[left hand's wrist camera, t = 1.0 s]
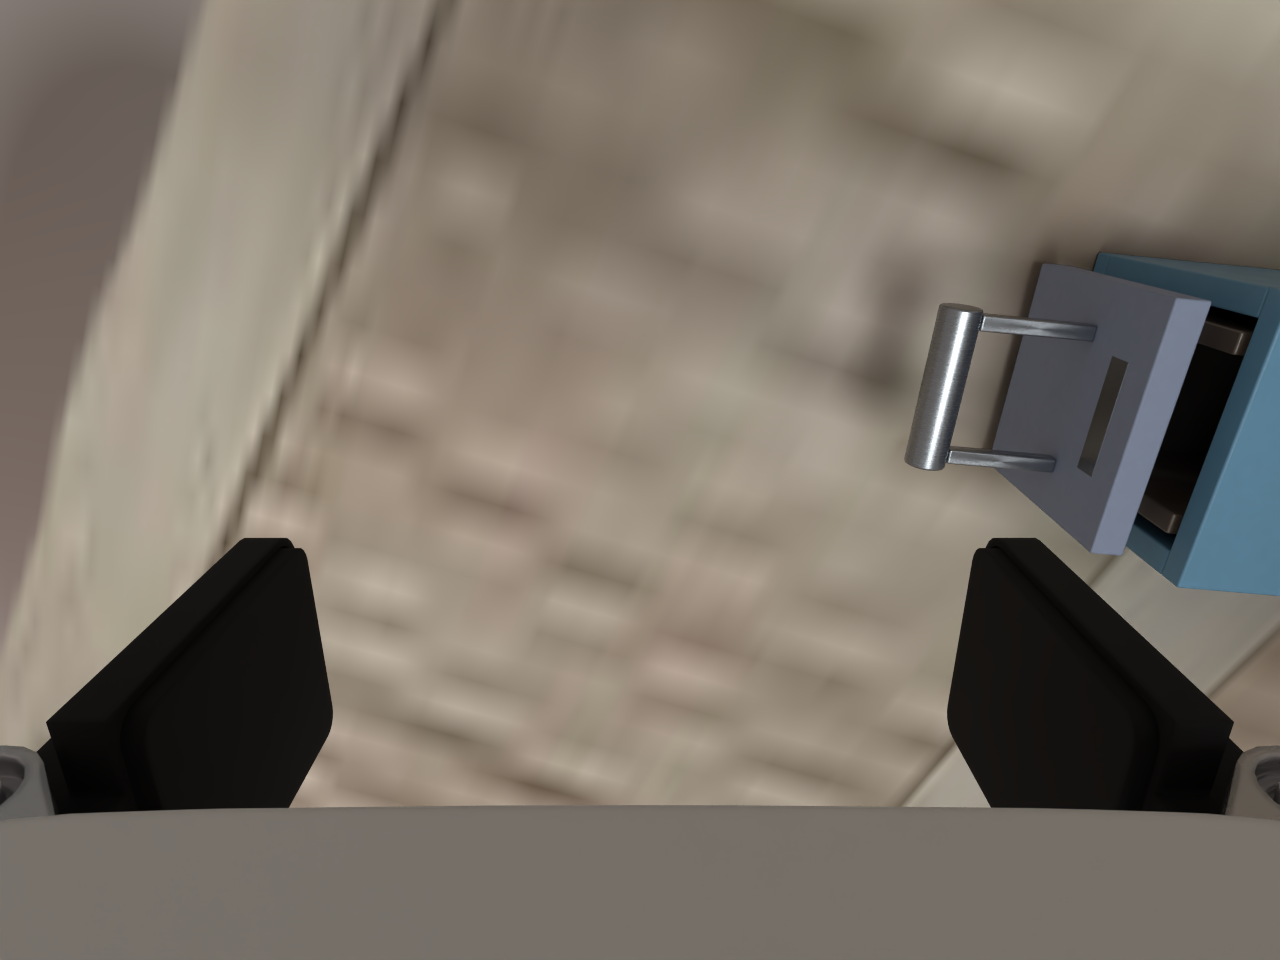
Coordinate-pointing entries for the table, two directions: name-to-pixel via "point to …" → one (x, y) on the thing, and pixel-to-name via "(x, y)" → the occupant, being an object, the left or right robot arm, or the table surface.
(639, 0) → the table surface
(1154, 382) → the drawer
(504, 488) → the table surface
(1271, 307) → the blue storage bin
